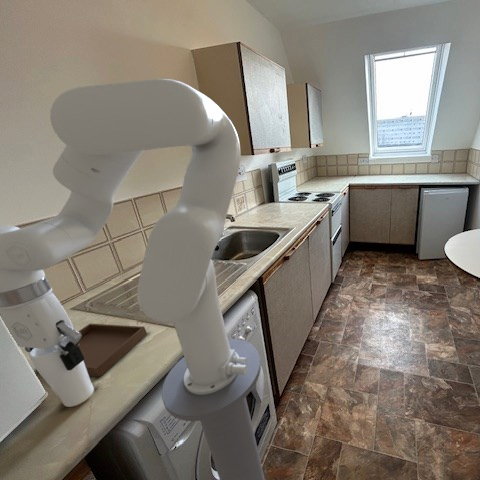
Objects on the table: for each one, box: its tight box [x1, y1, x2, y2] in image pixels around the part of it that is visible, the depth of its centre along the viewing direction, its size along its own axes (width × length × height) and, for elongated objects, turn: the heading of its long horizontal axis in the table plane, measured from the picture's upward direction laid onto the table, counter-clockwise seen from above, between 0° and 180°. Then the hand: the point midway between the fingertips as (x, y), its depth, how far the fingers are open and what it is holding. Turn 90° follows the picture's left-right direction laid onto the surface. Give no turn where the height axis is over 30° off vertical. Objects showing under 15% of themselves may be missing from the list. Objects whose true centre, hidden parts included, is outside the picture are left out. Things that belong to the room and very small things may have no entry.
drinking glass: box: [28, 334, 95, 408], centre depth 57 cm, size 7×7×15 cm
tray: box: [77, 323, 148, 378], centre depth 73 cm, size 19×15×3 cm
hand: (61, 363), depth 56 cm, fingers closed on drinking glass, 6 cm apart
